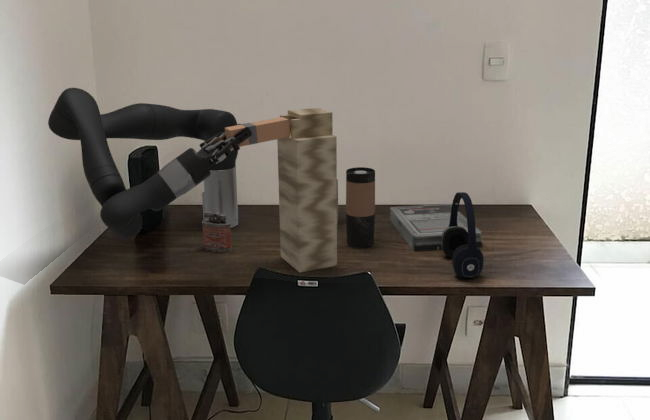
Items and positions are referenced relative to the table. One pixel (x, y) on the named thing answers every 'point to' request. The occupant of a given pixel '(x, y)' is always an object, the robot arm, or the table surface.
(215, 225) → the lighter
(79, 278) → the table surface
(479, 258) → the headphones
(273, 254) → the table surface
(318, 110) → the socket tower
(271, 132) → the bar
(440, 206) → the hard drive
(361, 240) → the travel mug
